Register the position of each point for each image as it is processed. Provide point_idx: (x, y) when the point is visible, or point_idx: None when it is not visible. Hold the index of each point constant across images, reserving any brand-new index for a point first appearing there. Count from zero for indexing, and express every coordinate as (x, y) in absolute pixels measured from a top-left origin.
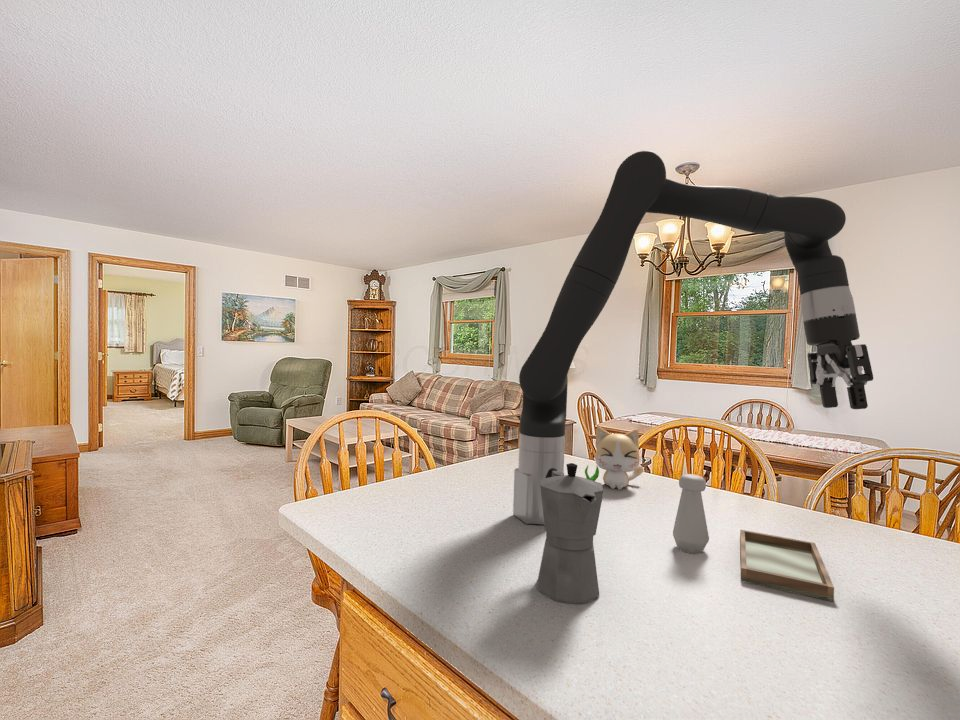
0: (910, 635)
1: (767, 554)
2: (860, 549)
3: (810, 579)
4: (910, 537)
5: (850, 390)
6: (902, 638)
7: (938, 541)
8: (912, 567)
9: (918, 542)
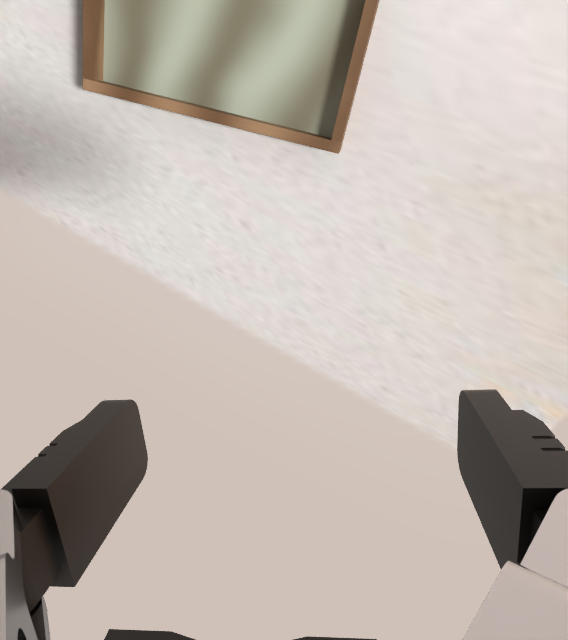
0: (42, 169)
1: (271, 6)
2: (406, 275)
3: (159, 72)
4: None
5: (35, 474)
6: (25, 152)
7: None
8: (329, 324)
9: None
